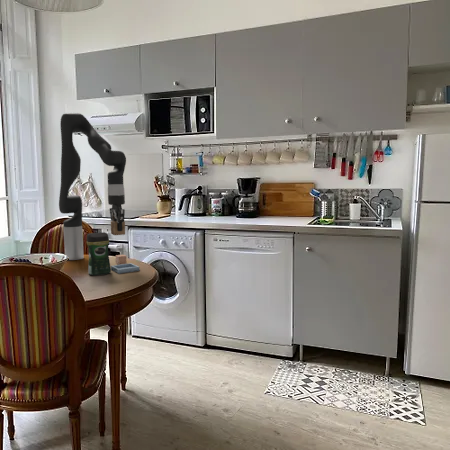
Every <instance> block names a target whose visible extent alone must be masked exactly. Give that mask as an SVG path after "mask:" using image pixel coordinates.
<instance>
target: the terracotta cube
mask: <svg viewBox="0 0 450 450" xmlns="http://www.w3.org/2000/svg"><path fill="white" fill-rule="evenodd" d="M127 261H128V260H127V255H126V254H118V255H117V254H116V255H115V264H116V265H121V264H128V263H127Z"/></svg>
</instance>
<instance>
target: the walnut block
mask: <svg viewBox="0 0 450 450" xmlns="http://www.w3.org/2000/svg"><path fill="white" fill-rule="evenodd" d="M122 229H123V230H122V231H117V221H111V220H110V234H111V235H113V236H124V235H126V221H124V222H123V223H122Z"/></svg>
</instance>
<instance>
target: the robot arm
mask: <svg viewBox="0 0 450 450" xmlns="http://www.w3.org/2000/svg"><path fill="white" fill-rule="evenodd" d="M92 125H93V124H91V123H90V121H89V120H88V119H87V117H86V116H85V115H84V114H82V113H80V112H64V113H63V114H62V115H61V117H60V125H59V126H60V139H61V140H60V141H61V155H60V156H61V158H60V189H59V197H58V198H59V199H58V208H59V212H60V213H61V214H65V215H66V214H73V215H72V216H70V218H67V219H65V220H63V221H62V222H63V223H62V224H63V243H64V245H63V246H64V256H65V255H67V256H68V257H69V260H68V261H75V260H77V261H78V260H83V259H84V258H85V255H84V240H83V238H84V236H83V234H84V233H83V202H82V201H83V200H82V197H81V196H80V195H78V194H77V195H74V194H73V195H69V191H70V189H71V187H72V185H73V184H74V183H75V181H76V180H77V178H78V177H79V175H80V173H81V165H82V164H81V163H82V162H81V157H80V154H79V152H78V151H77V149H76V147H75V145H74V142H73V141H74V140H73V135H74V133H82V134H83V135H84V136H86V137H87V142H88V145H89V147H90V148H91V149H92V150H93V151H94V152H96V153H97V154H98V156H99V158H100V159H101V161H102V162H103V164H104V165H106V166H109V167H113V170H112V171H109V172H108V173H107V201H108V205H109V206H111V207H110V208H109V214H110V222H111V221H117V231H122V230H123V229H122V223H123V222H125V208H122V206H123V205H125V204H126V201H125V200H126V198H125V195H126V194H125V186H124V185H125V184H124V173H125V169H126V164H127V157H126V155H125V153H124V152H123V151H121V150H112V145H111V144H110V143H109V142H108V141H107V140H106V139H104V138H103V136H101V135H100V134H99V133H98V131H97V130H96V129H95V128H94V126H92Z"/></svg>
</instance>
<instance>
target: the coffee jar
mask: <svg viewBox="0 0 450 450" xmlns="http://www.w3.org/2000/svg"><path fill="white" fill-rule="evenodd" d="M86 235H87V236H86V245H87V247H88V266H87V267H88V269H87V272H88V275H89V276H102V275H103V276H104V275H107V274H111V271H112V270H111V263H110V256H109V249H108V248H109V244H110V239H109V233H108V232H105V231H103V232H91V233H87V234H86Z"/></svg>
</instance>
